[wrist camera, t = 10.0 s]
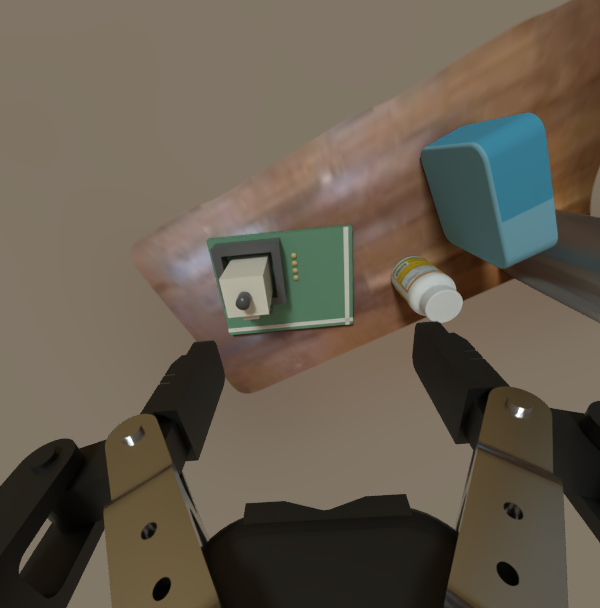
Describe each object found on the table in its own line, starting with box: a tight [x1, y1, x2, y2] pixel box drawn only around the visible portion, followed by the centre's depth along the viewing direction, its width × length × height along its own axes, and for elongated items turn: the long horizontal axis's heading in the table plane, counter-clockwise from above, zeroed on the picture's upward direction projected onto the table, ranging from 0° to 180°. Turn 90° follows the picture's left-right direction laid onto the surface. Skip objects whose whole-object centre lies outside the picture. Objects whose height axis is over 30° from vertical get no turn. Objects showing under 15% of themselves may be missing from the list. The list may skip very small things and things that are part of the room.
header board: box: [207, 224, 353, 335], centre depth 38 cm, size 18×14×1 cm
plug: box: [219, 253, 274, 320], centre depth 32 cm, size 4×6×10 cm
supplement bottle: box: [391, 256, 463, 323], centre depth 34 cm, size 5×5×10 cm
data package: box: [421, 113, 558, 269], centre depth 28 cm, size 12×4×12 cm, turn 29°
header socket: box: [210, 237, 299, 315], centre depth 36 cm, size 10×9×2 cm
